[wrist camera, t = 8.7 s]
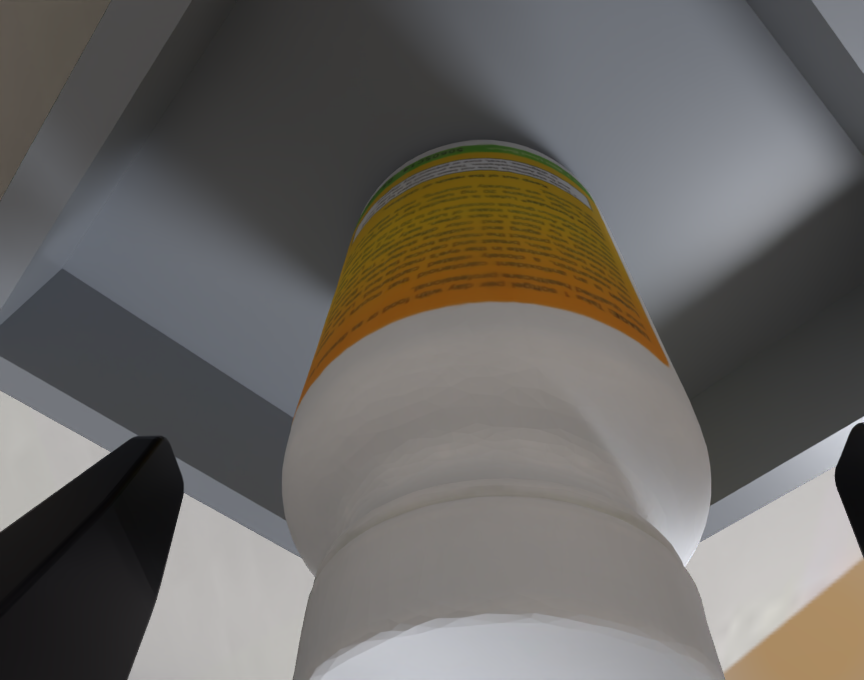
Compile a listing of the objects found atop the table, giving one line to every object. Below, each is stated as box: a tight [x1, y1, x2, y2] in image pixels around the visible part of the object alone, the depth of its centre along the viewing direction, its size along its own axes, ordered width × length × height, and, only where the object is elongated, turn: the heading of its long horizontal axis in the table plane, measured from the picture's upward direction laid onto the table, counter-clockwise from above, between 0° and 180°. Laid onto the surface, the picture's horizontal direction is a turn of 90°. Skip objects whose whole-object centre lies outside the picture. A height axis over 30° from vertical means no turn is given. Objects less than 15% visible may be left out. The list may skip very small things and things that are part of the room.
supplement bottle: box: [282, 140, 725, 680], centre depth 10 cm, size 5×5×10 cm
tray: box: [0, 0, 864, 558], centre depth 13 cm, size 15×15×4 cm
